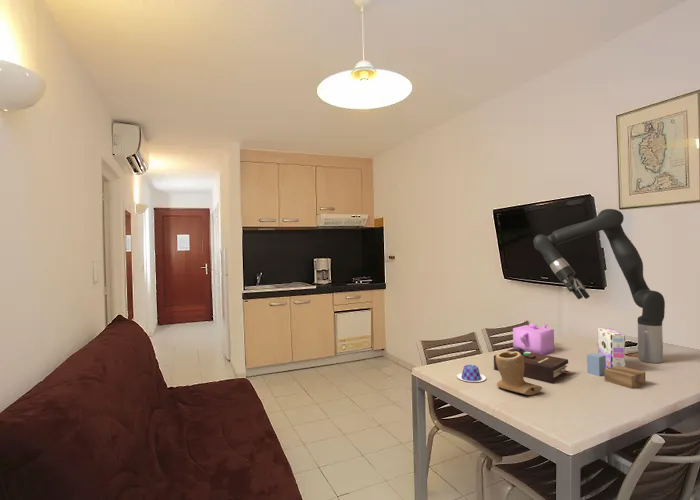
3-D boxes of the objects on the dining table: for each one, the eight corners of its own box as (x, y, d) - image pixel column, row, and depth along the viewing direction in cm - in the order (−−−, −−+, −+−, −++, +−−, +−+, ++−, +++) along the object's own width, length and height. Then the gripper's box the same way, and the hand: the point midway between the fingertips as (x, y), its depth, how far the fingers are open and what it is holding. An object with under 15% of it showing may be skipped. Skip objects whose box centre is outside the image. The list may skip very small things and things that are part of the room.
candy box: (626, 372, 169) (625, 334, 169) (611, 371, 170) (610, 334, 170) (611, 362, 182) (611, 327, 182) (597, 362, 184) (597, 327, 183)
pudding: (478, 385, 159) (478, 372, 159) (451, 379, 167) (451, 367, 167) (490, 377, 168) (490, 365, 168) (464, 372, 176) (464, 360, 176)
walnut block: (618, 377, 164) (618, 365, 164) (645, 384, 155) (645, 372, 155) (604, 381, 159) (604, 369, 159) (631, 389, 150) (631, 376, 150)
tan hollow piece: (489, 388, 155) (488, 351, 154) (507, 382, 161) (506, 346, 161) (525, 400, 142) (524, 360, 142) (543, 393, 149) (542, 354, 149)
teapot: (561, 349, 208) (560, 322, 207) (535, 358, 193) (534, 329, 193) (534, 343, 220) (533, 318, 220) (507, 351, 206) (507, 325, 206)
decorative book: (556, 368, 155) (487, 353, 178) (556, 387, 155) (487, 370, 178) (575, 358, 168) (508, 345, 191) (575, 375, 168) (508, 361, 191)
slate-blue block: (593, 370, 172) (593, 352, 172) (605, 373, 168) (605, 355, 167) (587, 373, 169) (586, 354, 169) (599, 376, 165) (599, 357, 165)
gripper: (562, 264, 181) (585, 294, 173) (574, 265, 190) (597, 293, 182) (549, 273, 186) (571, 303, 178) (561, 274, 195) (583, 301, 187)
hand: (584, 298), depth 180 cm, fingers open, 8 cm apart
